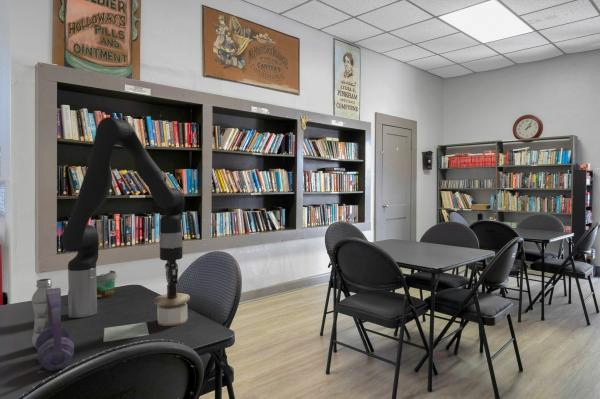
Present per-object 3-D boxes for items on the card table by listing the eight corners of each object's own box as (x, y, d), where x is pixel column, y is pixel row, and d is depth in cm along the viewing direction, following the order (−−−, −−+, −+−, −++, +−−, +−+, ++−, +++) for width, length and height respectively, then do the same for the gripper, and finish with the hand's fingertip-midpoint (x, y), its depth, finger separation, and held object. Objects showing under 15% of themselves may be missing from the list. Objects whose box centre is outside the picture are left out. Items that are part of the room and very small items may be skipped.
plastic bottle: (40, 343, 122) (38, 277, 121) (63, 342, 122) (61, 277, 122) (27, 351, 115) (25, 282, 115) (52, 350, 116) (50, 282, 115)
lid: (155, 307, 132) (155, 291, 132) (152, 298, 143) (152, 283, 142) (192, 302, 137) (192, 286, 137) (186, 294, 148) (186, 279, 147)
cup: (159, 328, 133) (158, 310, 133) (156, 319, 142) (156, 303, 142) (189, 324, 137) (189, 306, 137) (184, 315, 146) (184, 299, 146)
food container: (104, 300, 168) (104, 276, 168) (91, 299, 169) (91, 276, 169) (123, 292, 180) (122, 270, 180) (111, 292, 181) (110, 270, 181)
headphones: (35, 355, 113) (33, 285, 112) (68, 348, 118) (66, 280, 117) (39, 380, 98) (36, 299, 97) (77, 370, 103) (75, 293, 102)
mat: (103, 343, 121) (103, 341, 121) (104, 329, 133) (104, 328, 133) (149, 335, 127) (149, 334, 127) (146, 323, 139) (146, 322, 138)
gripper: (157, 243, 144) (158, 291, 144) (161, 249, 131) (162, 301, 132) (179, 242, 147) (180, 288, 148) (185, 247, 134) (186, 298, 135)
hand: (172, 294), depth 140 cm, fingers open, 3 cm apart
